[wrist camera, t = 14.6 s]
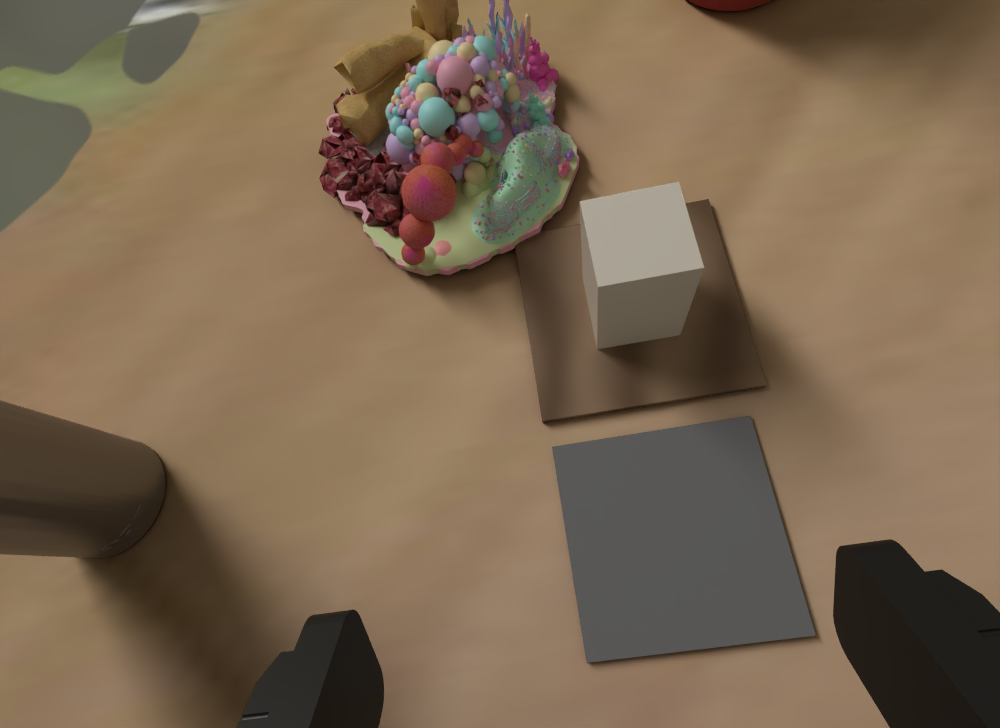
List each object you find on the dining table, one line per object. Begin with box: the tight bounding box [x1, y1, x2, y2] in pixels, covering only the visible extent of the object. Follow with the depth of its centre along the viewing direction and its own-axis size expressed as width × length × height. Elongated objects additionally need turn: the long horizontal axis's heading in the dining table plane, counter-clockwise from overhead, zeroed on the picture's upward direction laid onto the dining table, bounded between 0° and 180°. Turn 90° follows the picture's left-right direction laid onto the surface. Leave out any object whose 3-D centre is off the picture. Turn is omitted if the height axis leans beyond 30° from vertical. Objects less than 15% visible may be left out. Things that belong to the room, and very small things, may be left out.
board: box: [515, 199, 767, 423], centre depth 44 cm, size 16×16×1 cm
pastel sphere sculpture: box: [319, 0, 579, 276], centre depth 48 cm, size 25×24×9 cm
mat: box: [552, 416, 816, 663], centre depth 38 cm, size 14×14×1 cm
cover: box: [580, 182, 704, 349], centre depth 39 cm, size 6×6×10 cm
